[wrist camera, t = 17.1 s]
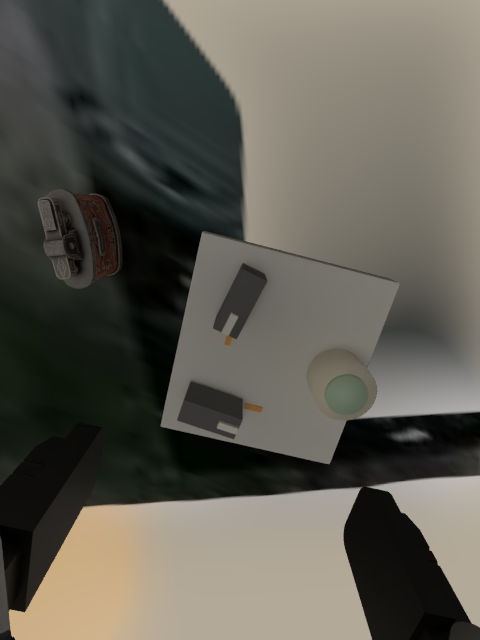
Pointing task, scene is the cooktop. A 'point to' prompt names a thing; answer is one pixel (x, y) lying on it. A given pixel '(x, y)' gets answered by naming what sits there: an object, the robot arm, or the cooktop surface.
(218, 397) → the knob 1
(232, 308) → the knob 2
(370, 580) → the robot arm
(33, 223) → the cooktop surface
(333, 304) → the base plate
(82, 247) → the lighter
